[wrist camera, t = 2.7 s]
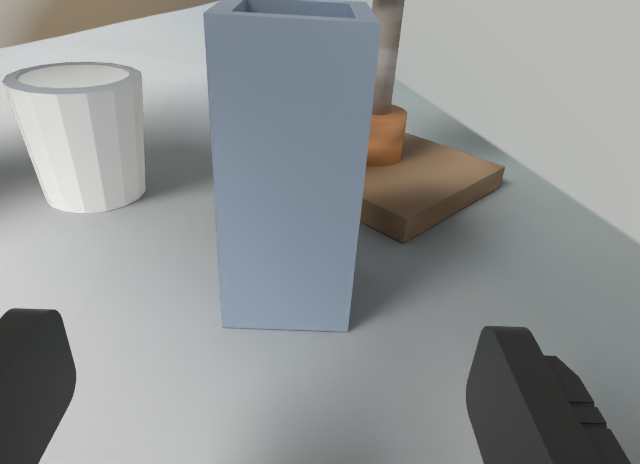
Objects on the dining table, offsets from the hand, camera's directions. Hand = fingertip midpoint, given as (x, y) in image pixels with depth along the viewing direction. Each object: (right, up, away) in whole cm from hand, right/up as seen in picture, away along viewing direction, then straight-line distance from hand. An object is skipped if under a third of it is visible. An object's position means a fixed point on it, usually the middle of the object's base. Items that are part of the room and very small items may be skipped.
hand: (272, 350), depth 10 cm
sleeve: (0, 0, +13) cm, 13 cm away
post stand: (+4, +6, +25) cm, 26 cm away
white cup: (-13, +5, +21) cm, 25 cm away
